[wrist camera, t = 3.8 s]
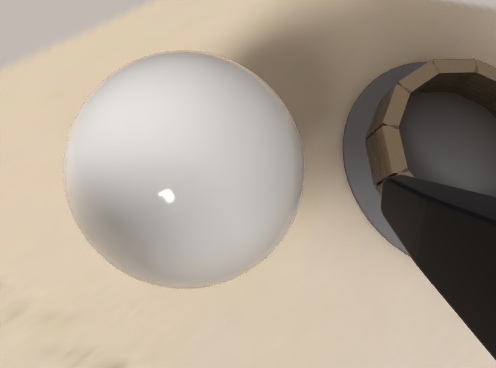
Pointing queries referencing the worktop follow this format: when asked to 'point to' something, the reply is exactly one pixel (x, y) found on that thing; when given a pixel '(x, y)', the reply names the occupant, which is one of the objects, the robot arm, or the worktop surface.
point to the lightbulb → (183, 169)
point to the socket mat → (422, 144)
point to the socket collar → (423, 81)
